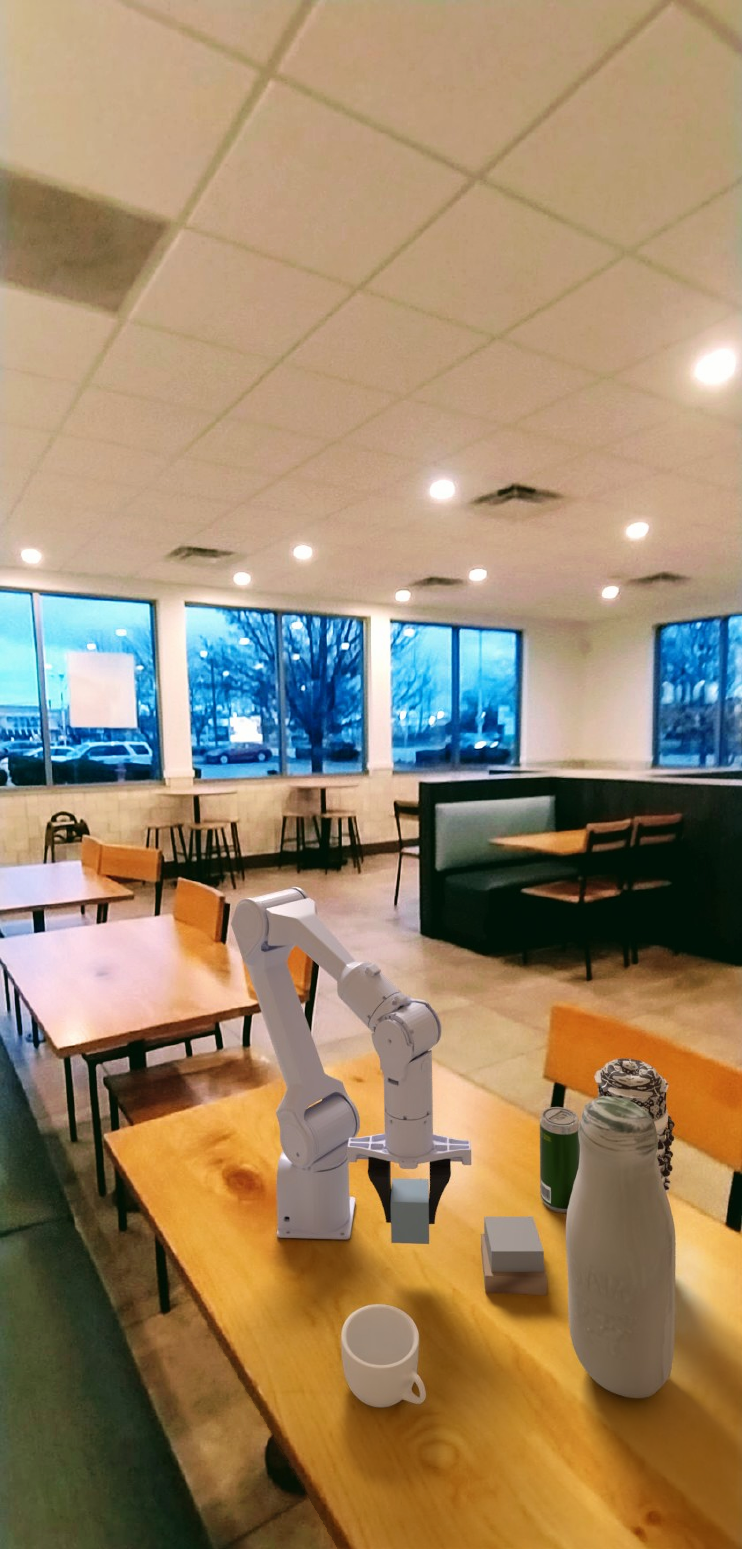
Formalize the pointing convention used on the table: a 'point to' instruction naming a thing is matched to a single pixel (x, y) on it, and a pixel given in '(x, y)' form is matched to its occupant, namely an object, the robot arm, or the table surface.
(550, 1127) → the beer can
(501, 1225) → the grey middle block
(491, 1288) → the walnut base block
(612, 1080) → the decorative candle
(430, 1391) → the table surface
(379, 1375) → the teacup
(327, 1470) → the table surface
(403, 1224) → the slate blue block
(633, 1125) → the glass bottle
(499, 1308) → the table surface
